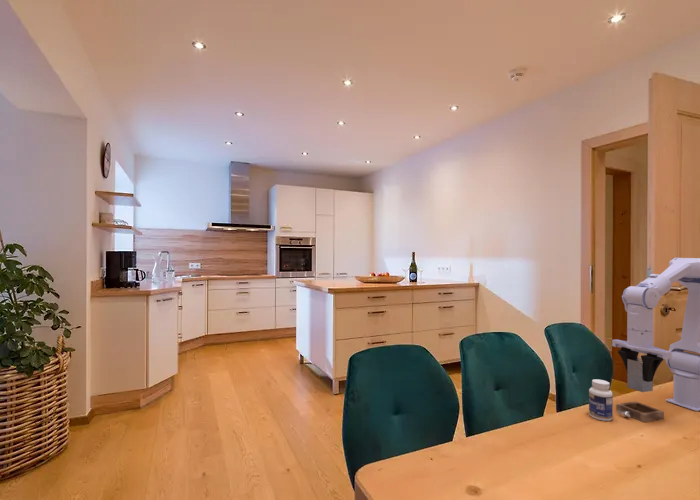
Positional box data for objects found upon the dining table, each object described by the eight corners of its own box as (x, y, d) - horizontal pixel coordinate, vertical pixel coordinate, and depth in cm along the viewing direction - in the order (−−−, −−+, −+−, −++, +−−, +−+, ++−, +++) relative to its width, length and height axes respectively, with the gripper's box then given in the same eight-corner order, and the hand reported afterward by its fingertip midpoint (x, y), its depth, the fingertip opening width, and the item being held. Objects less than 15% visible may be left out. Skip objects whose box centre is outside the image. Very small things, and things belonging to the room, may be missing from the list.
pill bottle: (584, 415, 103) (584, 379, 103) (596, 411, 105) (596, 377, 105) (604, 423, 98) (605, 386, 98) (617, 419, 100) (617, 383, 100)
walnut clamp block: (635, 408, 108) (635, 401, 108) (663, 419, 100) (663, 411, 100) (610, 412, 105) (610, 405, 105) (637, 423, 97) (637, 416, 98)
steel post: (637, 385, 105) (637, 357, 106) (652, 390, 102) (652, 361, 102) (627, 387, 104) (627, 358, 104) (642, 392, 100) (642, 362, 101)
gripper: (604, 325, 109) (604, 371, 109) (658, 335, 95) (658, 388, 95) (622, 324, 111) (622, 369, 111) (677, 334, 97) (677, 386, 97)
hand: (639, 378), depth 103 cm, fingers closed on steel post, 4 cm apart
